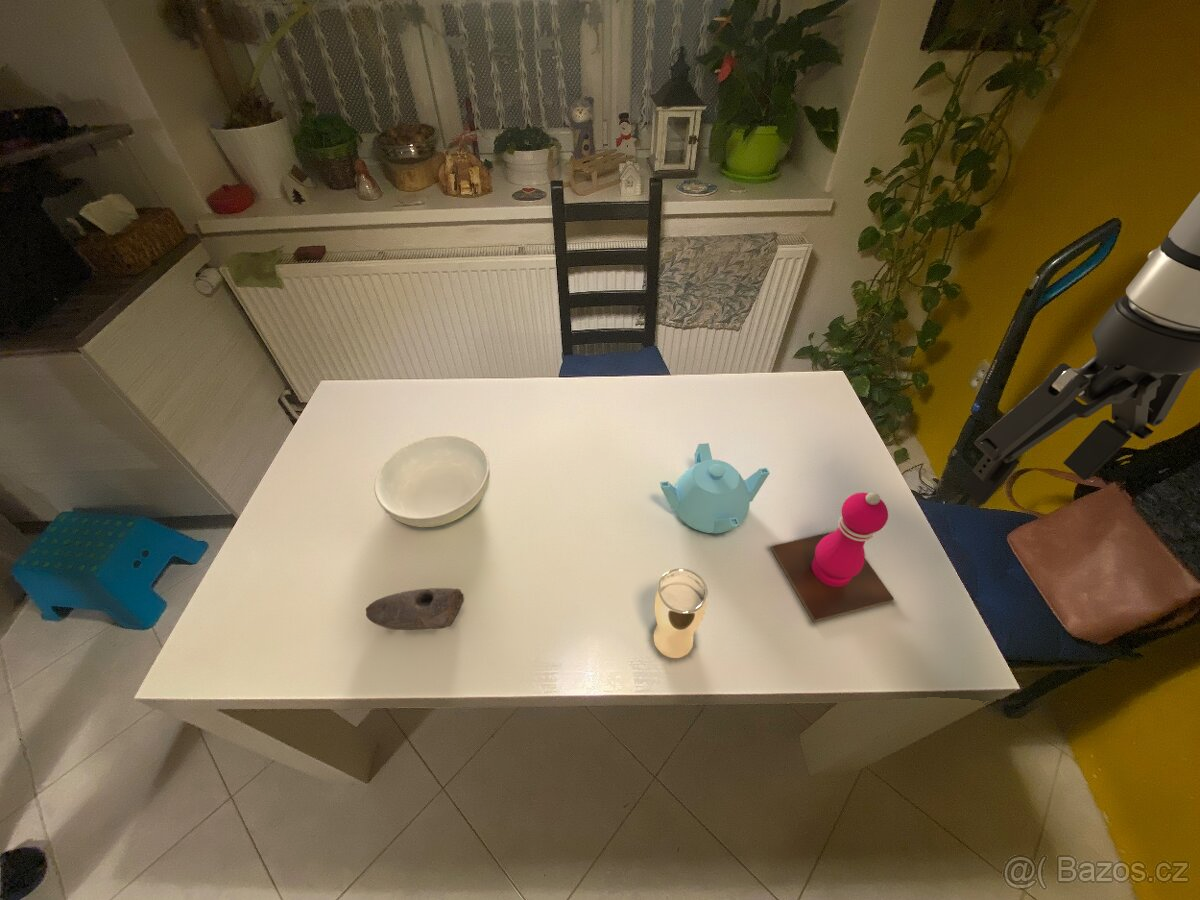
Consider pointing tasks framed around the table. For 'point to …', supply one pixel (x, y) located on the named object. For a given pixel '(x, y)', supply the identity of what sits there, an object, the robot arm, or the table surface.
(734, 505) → the teapot
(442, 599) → the perforated stone tool
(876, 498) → the pepper mill
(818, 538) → the walnut board
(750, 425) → the table surface
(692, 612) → the beer glass
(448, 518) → the serving bowl
